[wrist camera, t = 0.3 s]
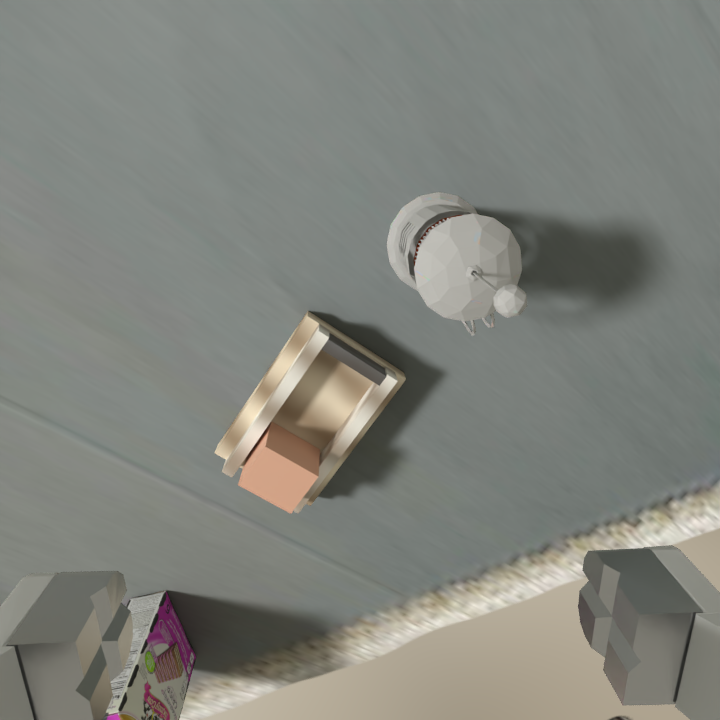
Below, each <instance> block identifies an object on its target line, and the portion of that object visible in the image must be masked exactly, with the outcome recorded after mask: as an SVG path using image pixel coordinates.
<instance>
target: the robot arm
mask: <svg viewBox="0 0 720 720" xmlns="http://www.w3.org/2000/svg"><path fill="white" fill-rule="evenodd" d="M583 571H584V573H585V575H586V576H587V578H588V580H589V581H588V582H587V584H586V585H585V586H584V587H583V588H582V589H581V590H580V594H579V604H578V608H579V615H580V622H581V625H582V628H583V632H584V634H585V637H586V639H587V641H588V642H589V644H590V646H591V648H593V649H594V650H595V651H597V652H598V653H599V654H601V655H602V656H604V657H605V662H604V669H603V670H604V672H605V674H606V676H607V677H608V679H609V681H610V683H611V685H612V687H613V688H614V690H615V692H616V694H617V696H618V697H619V699H620V701H621V703H622V705H659V704H676V705H675V707H676V708H677V709H678V710H680V711H681V712H682V713H683V714H684V715H686V716H687V717H688V718H689V719H690V720H720V592H719V591H718V590H717V589H716V588H715V587H714V586H713V585H712V584H711V583H710V582H709V581H708V579H707V578H706V577H705V576H704V575H703V574H702V573H701V572H700V571H699V570H698V569H697V568H696V566H695V565H694V564H693V563H692V562H691V561H690V560H689V559H688V558H687V557H686V556H685V555H684V553H683V552H682V551H681V550H680V549H678V548H676V547H674V546H672V545H671V546H657V547H644V548H638V549H618V550H597V551H588V552H587V554H586V556H585V558H584V564H583ZM126 591H127V589H126V584H125V580H124V576H123V574H122V573H120V572H119V571H91V572H60V573H31V574H29V575H27V576H25V577H23V578H22V579H21V581H20V582H19V583H18V584H17V586H16V587H15V588H14V590H13V591H12V592H11V594H10V595H9V596H8V597H7V599H6V600H5V601H4V603H3V604H2V605H1V607H0V720H103V718H104V715H105V713H106V711H107V708H108V706H109V704H110V701H111V699H112V697H113V692H112V687H111V681H112V680H113V679H115V678H116V677H117V676H118V675H119V674H120V673H122V672H123V670H124V668H125V665H126V663H127V660H128V658H129V655H130V649H131V644H132V639H133V622H132V616H131V611H130V610H129V609H128V608H127V607H125V606H124V605H123V604H122V603H121V601H122V599H123V597H124V595H125V593H126Z"/></svg>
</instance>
